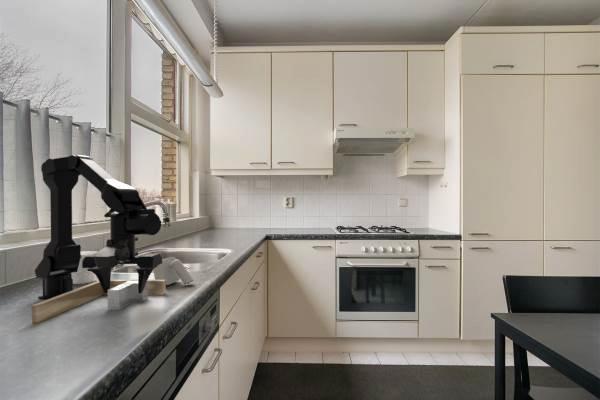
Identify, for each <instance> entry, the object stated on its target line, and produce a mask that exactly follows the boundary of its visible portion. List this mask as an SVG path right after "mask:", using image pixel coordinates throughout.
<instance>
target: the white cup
mask: <svg viewBox="0 0 600 400" xmlns="http://www.w3.org/2000/svg"><path fill="white" fill-rule="evenodd" d="M97 252H98V251H96V250H85V251H84V250H83V251H81V252H80V253H81V258H80V262H79V266H78V270H77V272H73V273H72V279H73V285H85V284H91V283H94V282H96V280H97V276H96V275H95V274H94V273H93V272H91V271H88V270H87V269H89V268H82V261H83V259H84V258H85V257H86V256H90V255H95V254H96V253H97Z"/></svg>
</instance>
